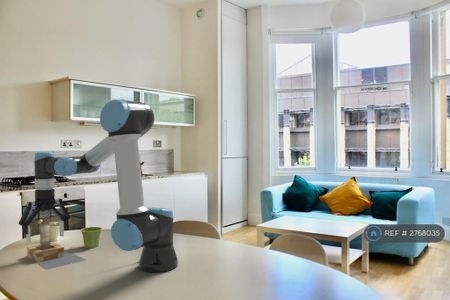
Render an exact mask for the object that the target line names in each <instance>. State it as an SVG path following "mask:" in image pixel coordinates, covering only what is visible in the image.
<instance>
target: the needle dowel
mask: <svg viewBox="0 0 450 300" xmlns="http://www.w3.org/2000/svg"><path fill="white" fill-rule="evenodd" d="M51 240H52V239H51V223H50V221H49V220H47V219H43V220H41V222H40V224H39V245H40V250H44V249H49V248H51V243H52V242H51Z"/></svg>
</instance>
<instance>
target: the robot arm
mask: <svg viewBox="0 0 450 300" xmlns="http://www.w3.org/2000/svg"><path fill="white" fill-rule="evenodd" d="M154 113H155V112H154V111H153V109H152V107H150V105H148V104H146V103H145V102H140V101H133V100H126V99H112V100H109V101H107V102H105V105H103V107H102V109H101V110H100V113H99V114H100V115H99V124H100V126H101V128H103V130H104V131H106V132H108V133H107V134H108V135H107V136H106V137H104V138H103V139H102V140H100V141H99V142H98V143H97V144H95V146H93V147H91V148H90V149H89V150H88V151H87V152H85V153H84V154H83V155H79V156H62V157H61V156H58V157H57V156H55V153H54V152H52V151H41V152H40V151H39V152H36V153H34V161H33V164H34V188H35V190H34V201H27V202H26V206H25V208H24V211H23V213H22V215H21V217H20V219H19V221H18V225H19V226H21V227H23V235H25V242H27V243H31V239H32V238H31V225H30V224H31V223H32V221H33V220H34V219H36V216H37V215H38V214H39V213H40V212H45V211H47V212H48V211H52V212H53V213H54V214H55V215H56V216H57V217H58V218H59V219H60V220H59V221H58V222H59V226H58V228H59V229H58V230H59V236H60V237H65V233H64V232H65V229H66V228H67V225H66V224H67V220H69V219H71V216H70V213H69V211H67V209H66V207H65V205H64V202H63V201H64V200H63V198H60V197H58V198H55V196H56V194H55V189H54V188H55V187H56V186H55V176H61V177H70V176H73V175H79V174H80V175H81V174H92V173H96V172H97V171H99V169H100V167H101V164H102V163H103V162H105V161H107V160H108V159H109V158H110V157H112V156H113V155H114V159H115V169H116V170H115V171H116V180H117V182H116V183H117V191H118V201H119V209H118V210H117V212H116V214H115V215H116V221H114V222H113V224H112V226H111V229H110V235H111V239H112V241H113V242H114V244H115V245H116V246H117V247H118V249H120V250H122V251H124V252H126V251H127V252H131V251H134V250H136V251H137V250H139V249H140V248H142V251H141V254H140V256H139V257H140V258H139V260H138V268H139V270H141V271H144V272H148V273H149V272H150V273H162V272H167V271H171V270H174V269H175V268H176V269H177V267H178V265H179V260H178V257H177V254H176V250H175V246H174V214H173V213H174V211H173V210H172V209H171V208H168V207H167V208H166V207H147V206H146V205H145V200H144V192H143V191H144V189H143V180H142V169H141V161H140V151H139V140H140V138H142V137H143V136H144V135H145V134H147V133H148V132H149V131H150V130H151V129H152V128H153V126H154V124H155V114H154ZM55 204H57V206H58V207H59V209H60V210H61V212H60V211H59V210H58V208H56V207H55V206H54V205H55ZM34 206H35V207H34ZM33 207H34V209H33V211H32V212H31V214H30V211H31V210H32V208H33ZM29 214H30V215H29Z"/></svg>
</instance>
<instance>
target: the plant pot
mask: <svg viewBox="0 0 450 300" xmlns="http://www.w3.org/2000/svg"><path fill="white" fill-rule="evenodd" d="M102 231H103V228H102V227H100V226H89V227H83V228H81V229H80V233H81V235H82V238H83V245H84V248H85V249H96V248H98V247H100V240H101V239H100V238H101V233H102Z"/></svg>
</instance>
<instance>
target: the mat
mask: <svg viewBox="0 0 450 300" xmlns="http://www.w3.org/2000/svg"><path fill="white" fill-rule="evenodd" d="M24 257H25V258H27V259H29V260H31V262H34V263H35V264H37V265H38V266H40V267H42V268H43V269H44V270H51V269H54V268H56V269H57V268H59V267H63V266H68V265H72V264H76V263H80V262H85V261H87V259H86V258H83V257H81V256H80V255H77V254H75V253H73V252H71V251H69V250H67V249H64V257H60V258H55V259H51V260H46V261H42V262H35V261H34V260H32V259H30V258H29V257H27V255H24Z"/></svg>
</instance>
